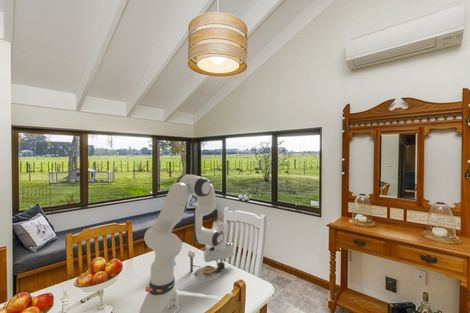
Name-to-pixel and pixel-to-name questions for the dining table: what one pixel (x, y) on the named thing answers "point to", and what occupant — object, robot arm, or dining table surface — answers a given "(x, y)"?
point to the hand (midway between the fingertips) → (219, 265)
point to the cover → (208, 270)
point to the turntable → (215, 275)
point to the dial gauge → (191, 260)
